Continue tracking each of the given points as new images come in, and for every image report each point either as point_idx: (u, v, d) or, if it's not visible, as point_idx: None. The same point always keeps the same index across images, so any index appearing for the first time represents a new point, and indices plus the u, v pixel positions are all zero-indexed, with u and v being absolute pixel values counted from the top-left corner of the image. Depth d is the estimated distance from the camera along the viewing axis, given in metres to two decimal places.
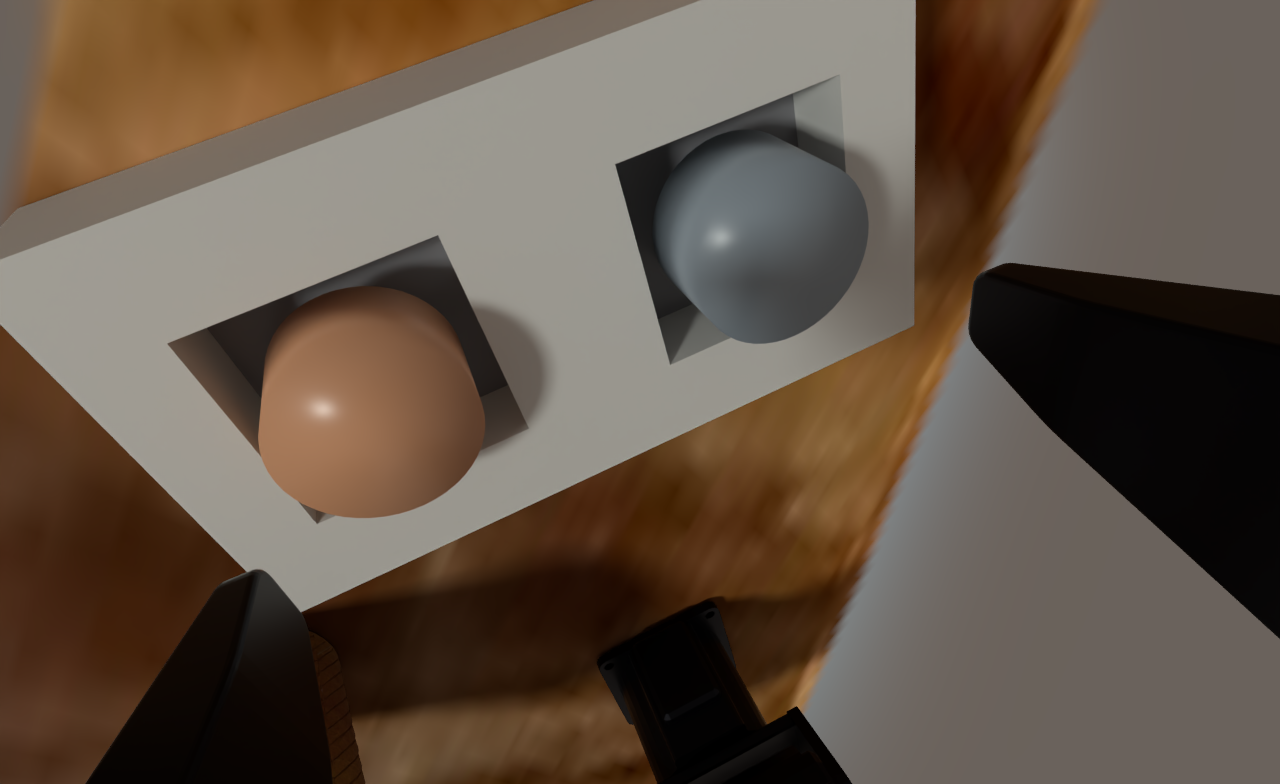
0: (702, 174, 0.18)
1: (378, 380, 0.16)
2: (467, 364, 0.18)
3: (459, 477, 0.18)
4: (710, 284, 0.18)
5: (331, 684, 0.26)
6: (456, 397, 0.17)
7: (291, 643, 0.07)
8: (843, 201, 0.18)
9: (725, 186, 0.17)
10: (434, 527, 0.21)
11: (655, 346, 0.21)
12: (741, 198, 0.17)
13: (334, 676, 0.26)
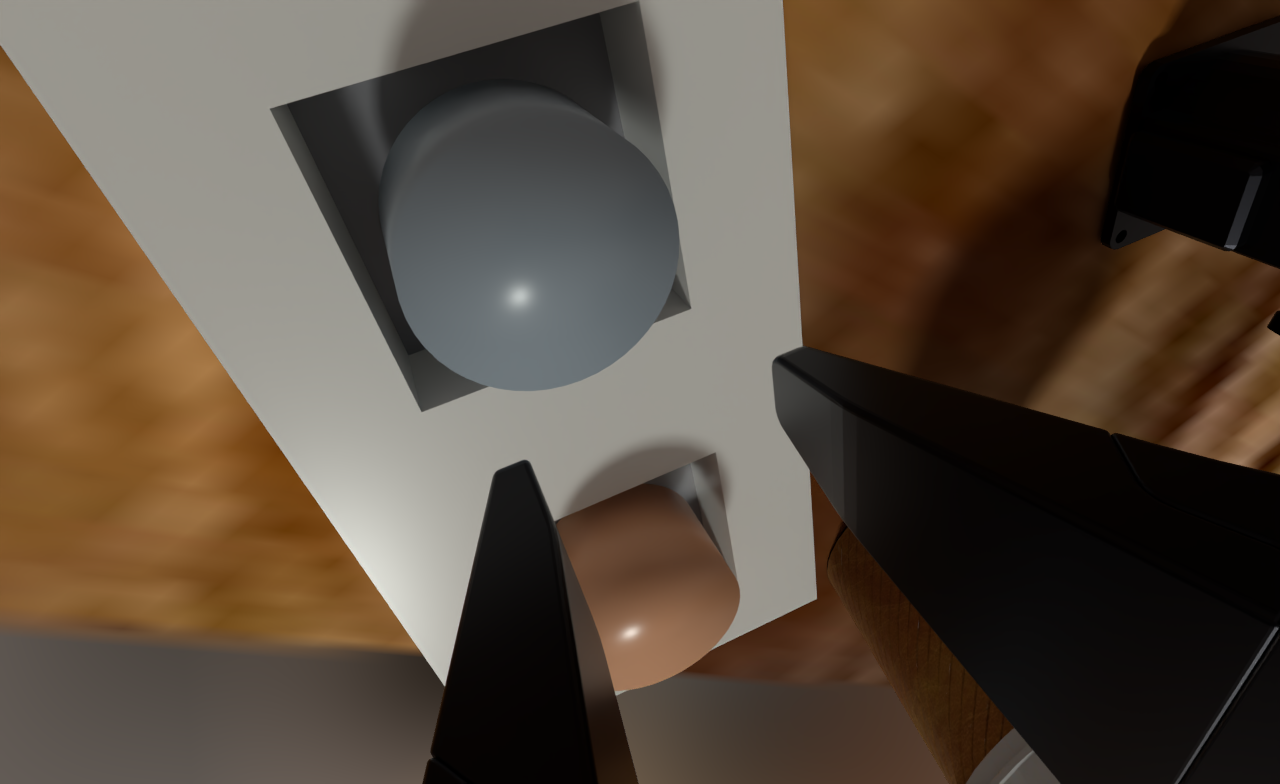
0: None
1: (603, 636, 0.18)
2: (619, 533, 0.18)
3: (723, 568, 0.19)
4: (567, 369, 0.13)
5: None
6: (637, 585, 0.18)
7: None
8: (462, 185, 0.11)
9: None
10: (787, 516, 0.22)
11: (659, 331, 0.16)
12: (450, 354, 0.12)
13: None
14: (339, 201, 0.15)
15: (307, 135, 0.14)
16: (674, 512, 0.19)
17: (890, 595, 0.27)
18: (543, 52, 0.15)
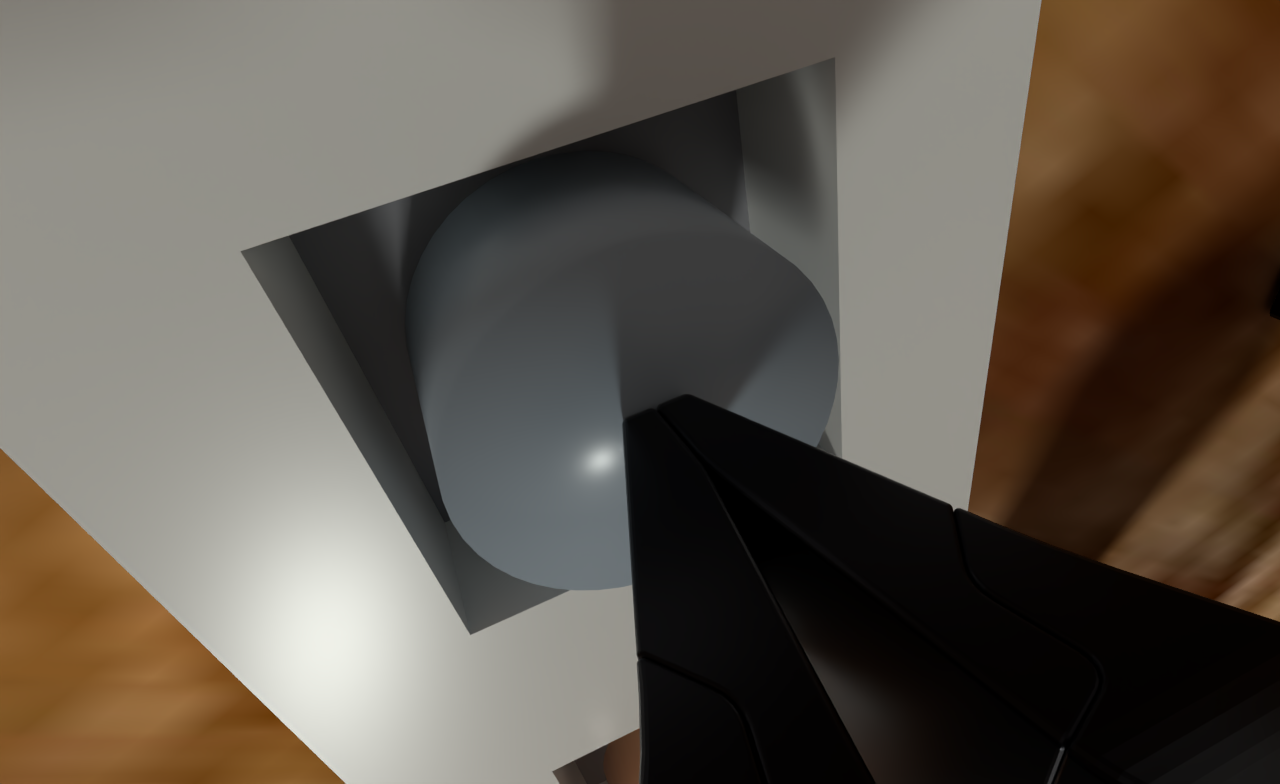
0: None
1: None
2: None
3: None
4: None
5: None
6: None
7: None
8: (544, 338, 0.07)
9: None
10: None
11: None
12: (512, 558, 0.09)
13: None
14: (352, 337, 0.10)
15: (305, 251, 0.09)
16: None
17: None
18: (651, 120, 0.10)
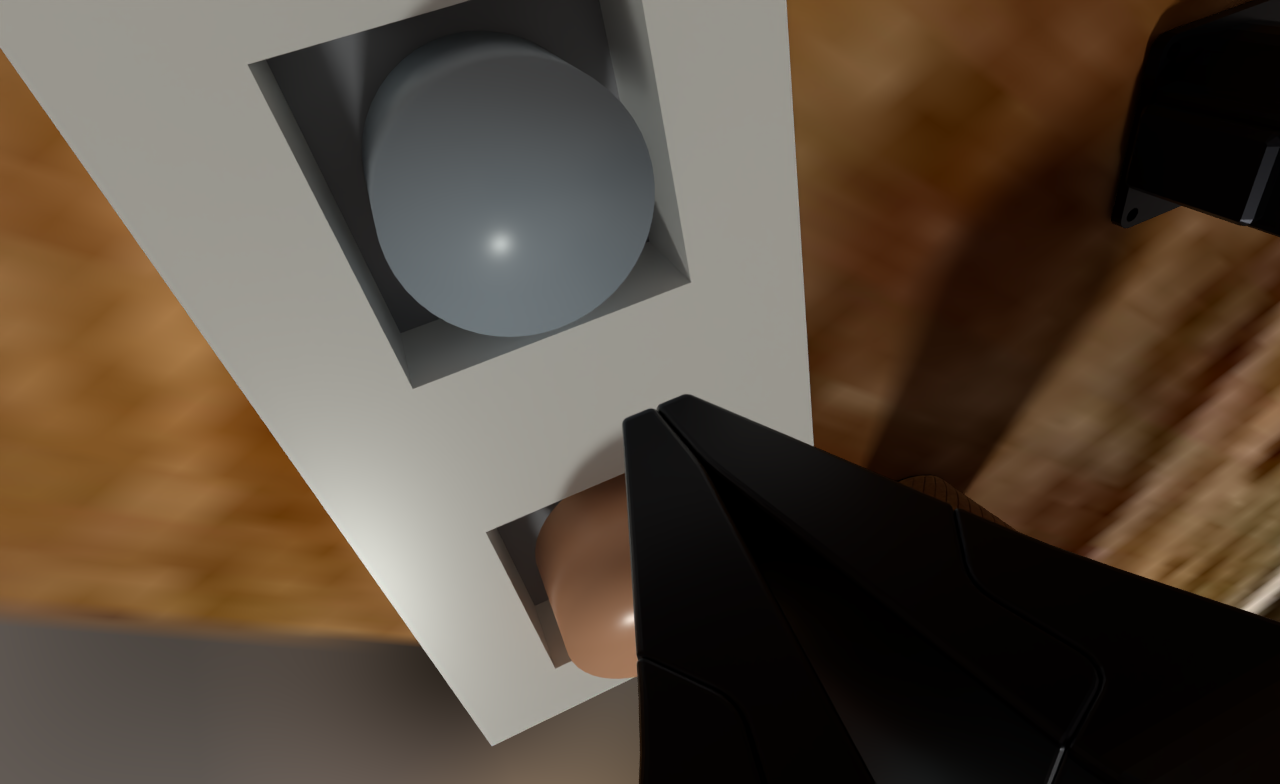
0: None
1: (602, 621, 0.18)
2: (619, 516, 0.18)
3: None
4: (547, 316, 0.14)
5: None
6: None
7: None
8: (438, 125, 0.11)
9: None
10: None
11: (658, 306, 0.16)
12: (430, 297, 0.13)
13: None
14: (326, 170, 0.14)
15: (291, 100, 0.13)
16: None
17: None
18: (536, 14, 0.14)
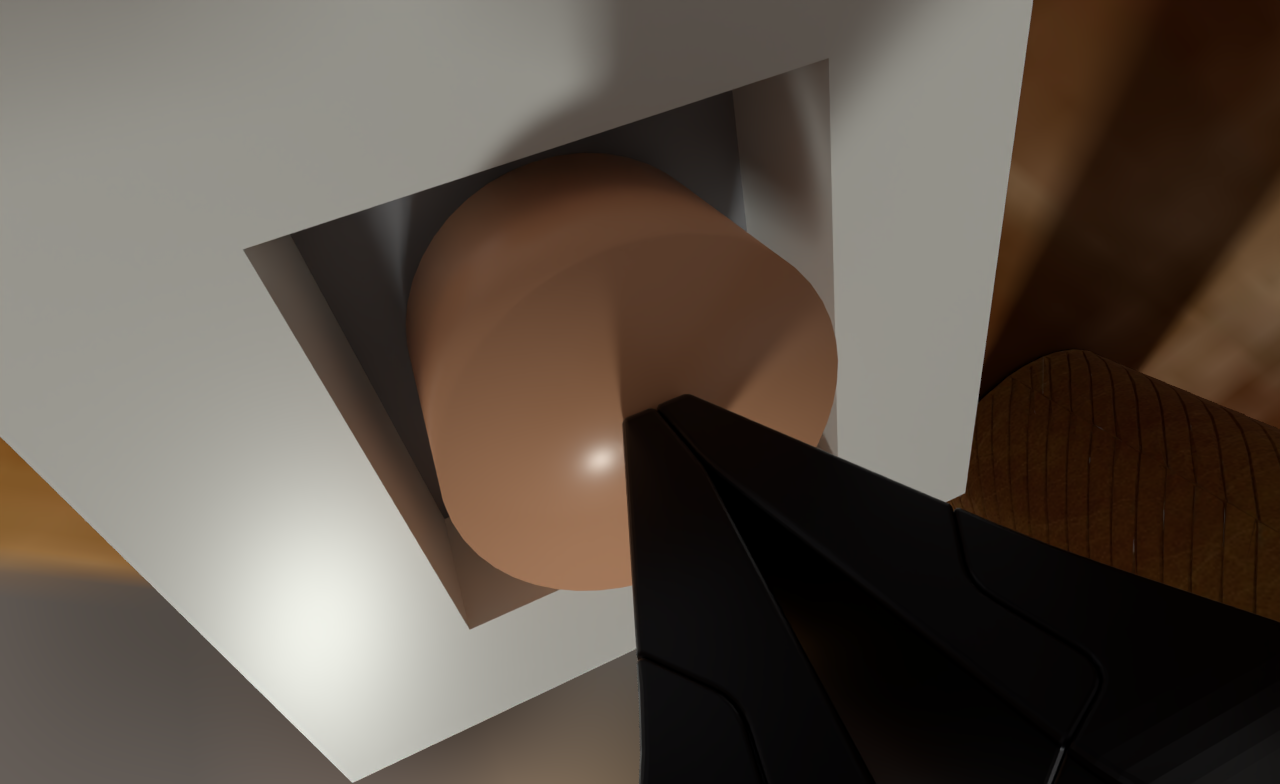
0: None
1: (526, 439, 0.08)
2: (567, 202, 0.08)
3: (808, 293, 0.08)
4: None
5: (1101, 404, 0.17)
6: (606, 297, 0.07)
7: None
8: None
9: None
10: (949, 291, 0.11)
11: None
12: None
13: (1090, 386, 0.18)
14: None
15: None
16: (694, 195, 0.09)
17: (1067, 504, 0.16)
18: None
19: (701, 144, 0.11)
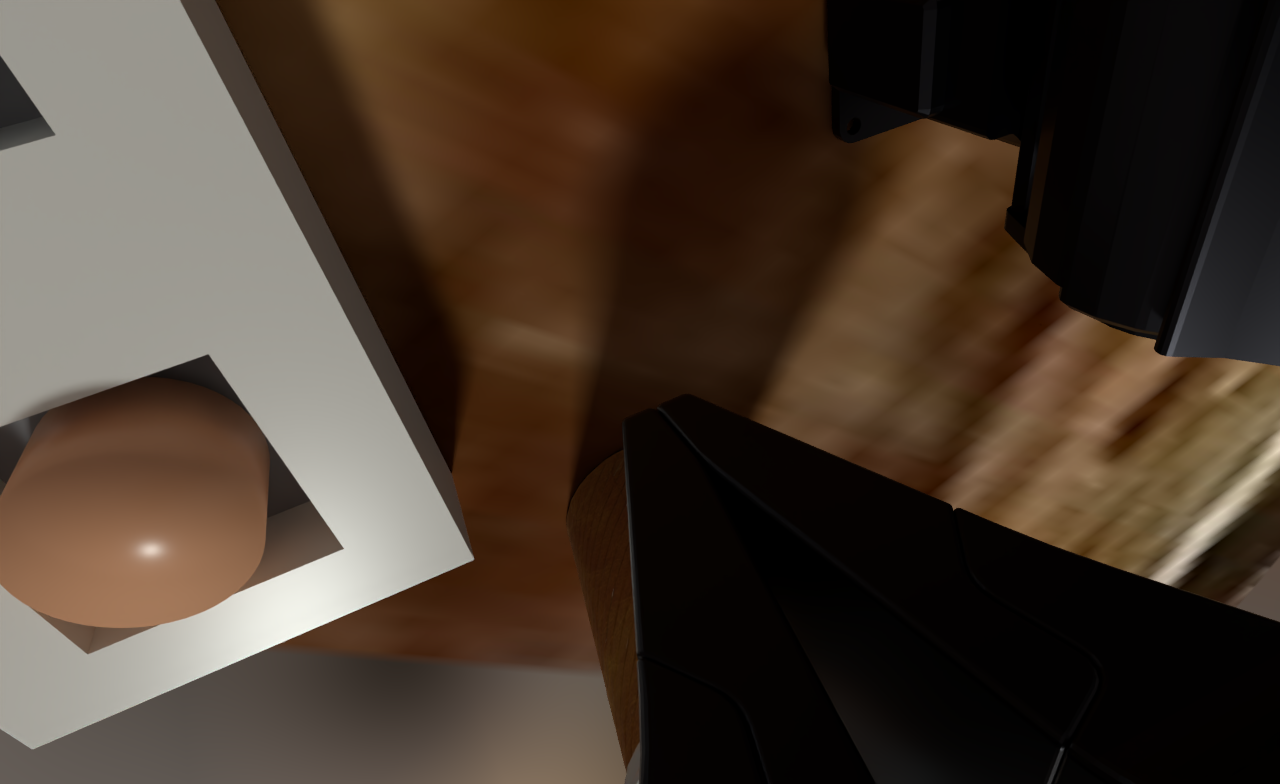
0: None
1: (45, 552, 0.15)
2: (72, 426, 0.15)
3: (207, 471, 0.15)
4: None
5: None
6: (65, 485, 0.14)
7: None
8: None
9: None
10: (376, 449, 0.17)
11: (13, 166, 0.12)
12: None
13: None
14: None
15: None
16: (174, 408, 0.16)
17: (599, 560, 0.23)
18: None
19: None
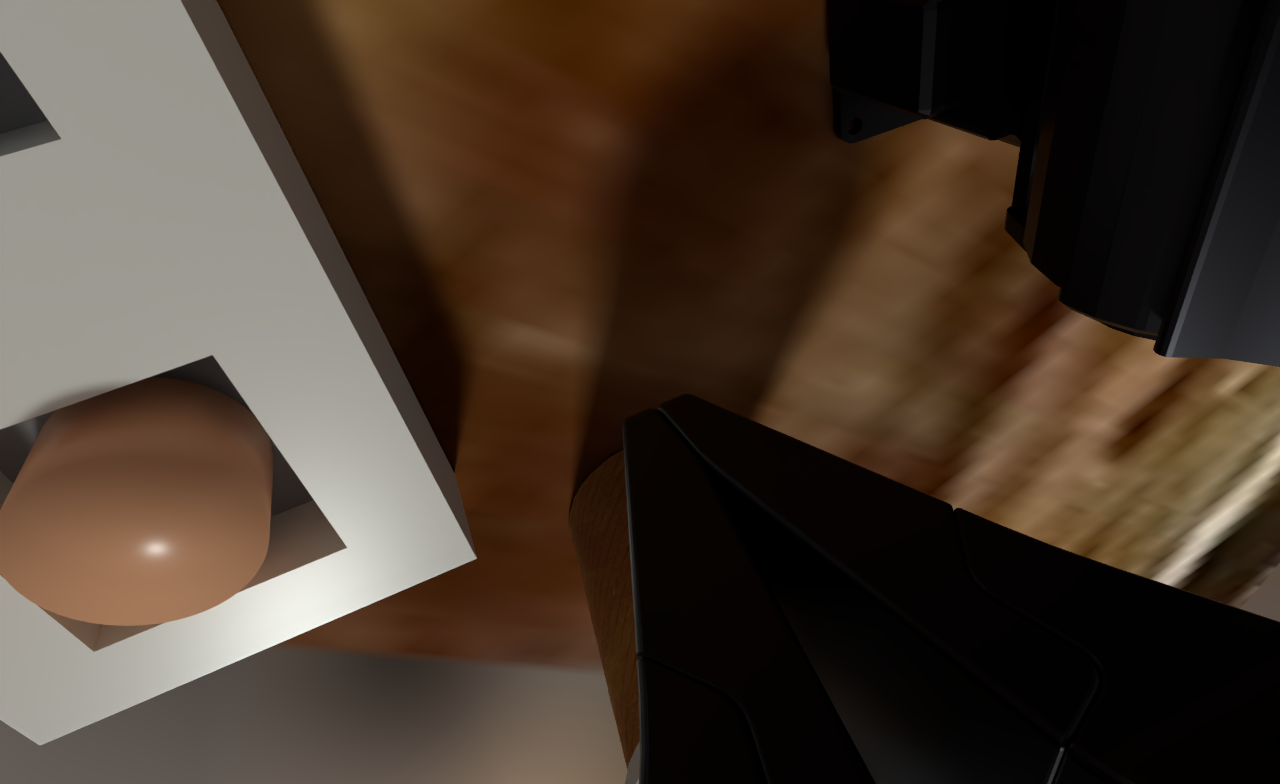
0: None
1: (51, 551, 0.15)
2: (78, 426, 0.15)
3: (211, 471, 0.15)
4: None
5: None
6: (71, 485, 0.14)
7: None
8: None
9: None
10: (378, 449, 0.18)
11: (19, 170, 0.12)
12: None
13: None
14: None
15: None
16: (178, 408, 0.16)
17: (601, 559, 0.23)
18: None
19: None
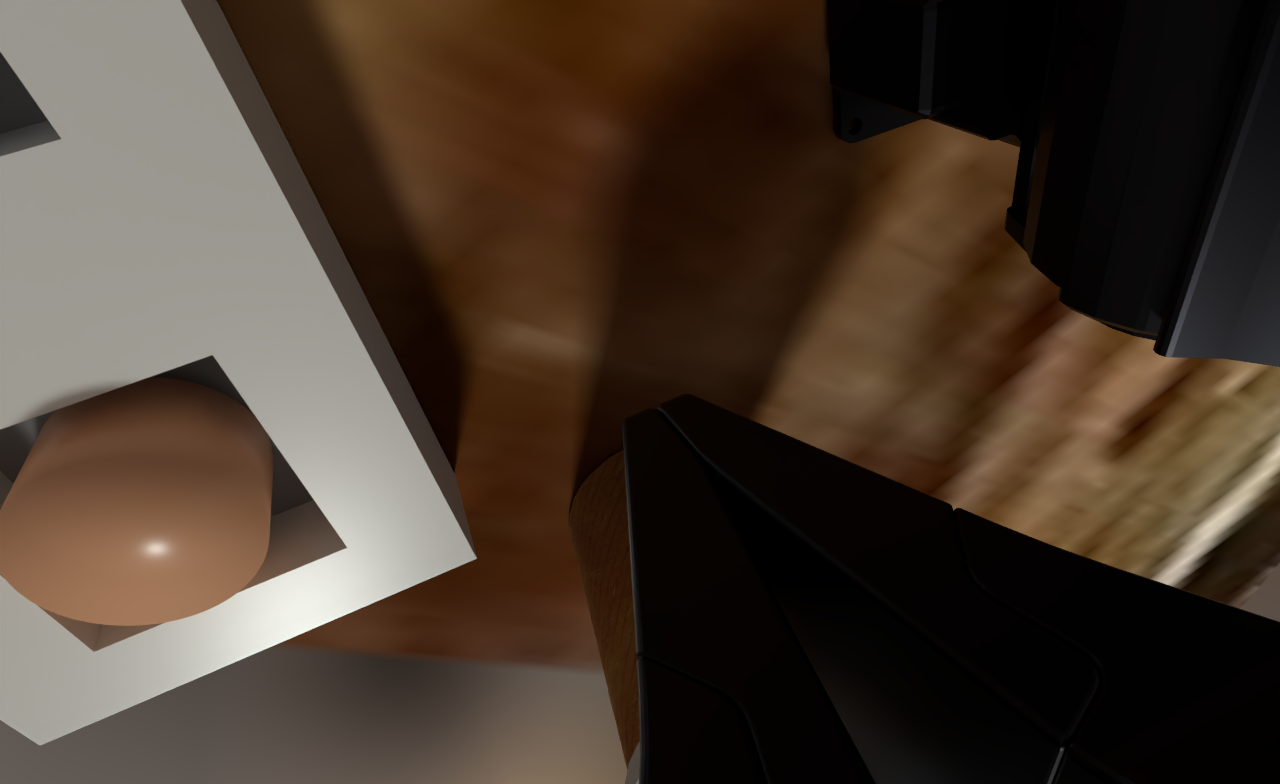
0: None
1: (51, 551, 0.15)
2: (78, 426, 0.15)
3: (211, 471, 0.15)
4: None
5: None
6: (71, 485, 0.14)
7: None
8: None
9: None
10: (378, 449, 0.18)
11: (19, 170, 0.12)
12: None
13: None
14: None
15: None
16: (178, 408, 0.16)
17: (601, 559, 0.23)
18: None
19: None
